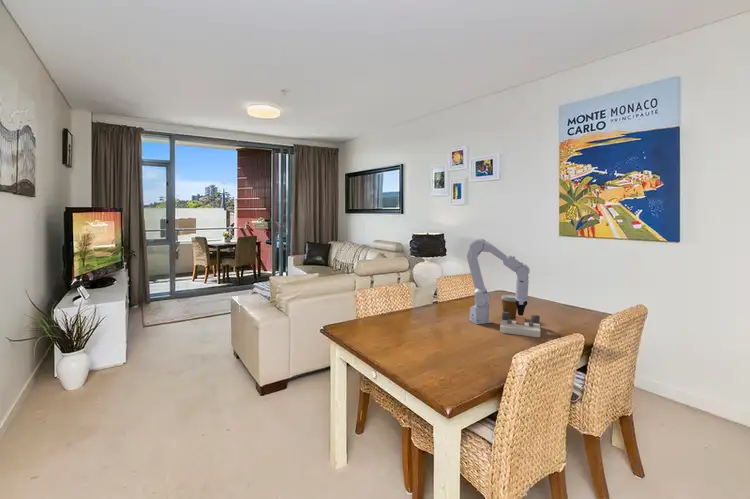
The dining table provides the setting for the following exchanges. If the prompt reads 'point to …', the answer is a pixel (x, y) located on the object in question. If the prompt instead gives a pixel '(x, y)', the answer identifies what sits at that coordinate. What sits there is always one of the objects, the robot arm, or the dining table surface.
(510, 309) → the disposable coffee cup
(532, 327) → the panel
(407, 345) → the dining table surface
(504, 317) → the post
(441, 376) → the dining table surface
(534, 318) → the post
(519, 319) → the tan rectangular block
